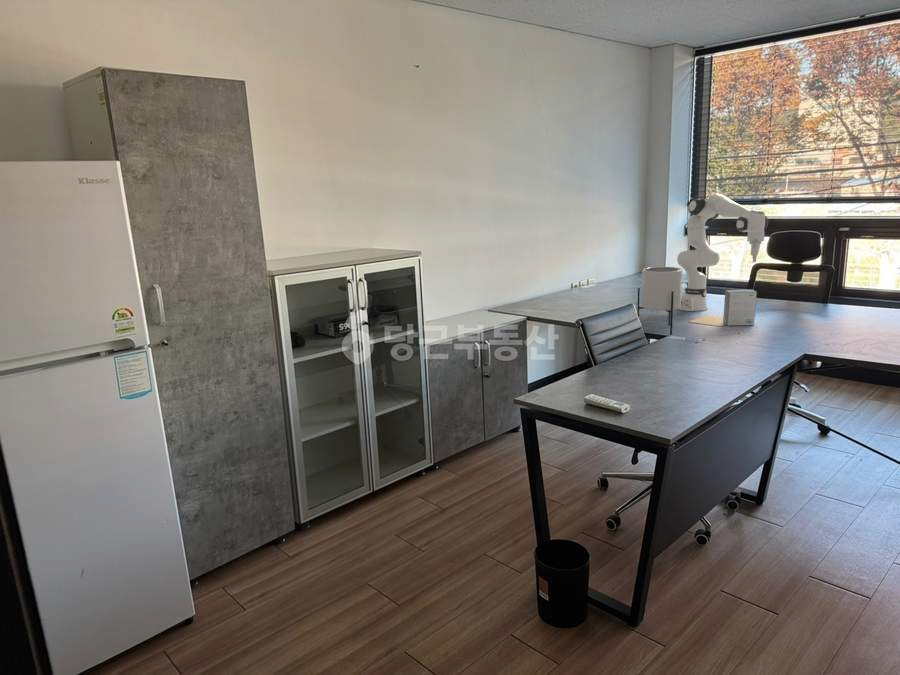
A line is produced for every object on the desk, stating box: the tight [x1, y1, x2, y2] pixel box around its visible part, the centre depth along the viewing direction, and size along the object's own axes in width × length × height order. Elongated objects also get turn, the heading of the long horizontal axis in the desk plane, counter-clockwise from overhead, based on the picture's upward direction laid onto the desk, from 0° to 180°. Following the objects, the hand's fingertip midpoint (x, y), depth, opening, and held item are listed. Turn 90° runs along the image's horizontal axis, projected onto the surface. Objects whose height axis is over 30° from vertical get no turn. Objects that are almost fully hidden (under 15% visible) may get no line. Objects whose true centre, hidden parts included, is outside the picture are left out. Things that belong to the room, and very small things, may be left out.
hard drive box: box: [723, 289, 758, 327], centre depth 357 cm, size 16×8×20 cm, turn 84°
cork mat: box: [688, 314, 727, 328], centre depth 371 cm, size 20×22×1 cm
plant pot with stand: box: [637, 266, 683, 335], centre depth 355 cm, size 24×24×36 cm
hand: (754, 261), depth 360 cm, fingers closed
